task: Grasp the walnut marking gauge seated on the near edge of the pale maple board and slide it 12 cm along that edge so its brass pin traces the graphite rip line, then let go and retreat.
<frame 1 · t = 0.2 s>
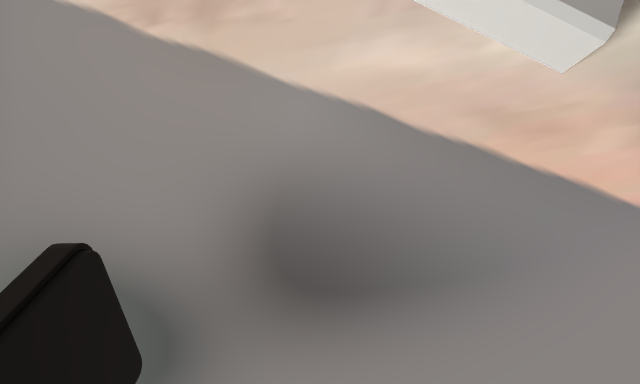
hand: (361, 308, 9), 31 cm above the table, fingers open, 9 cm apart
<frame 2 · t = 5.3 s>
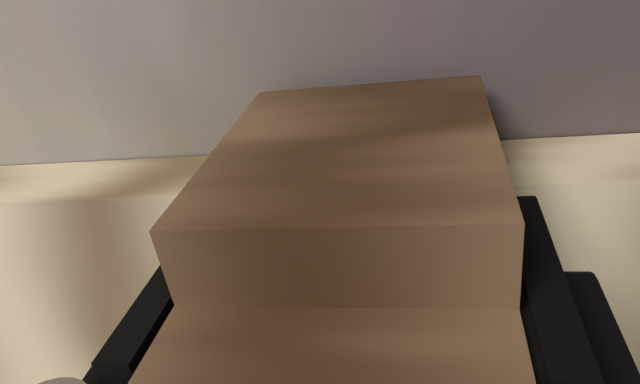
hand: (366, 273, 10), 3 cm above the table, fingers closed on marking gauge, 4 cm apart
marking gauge: (370, 243, 11), point 2 cm above the table, touching gripper, maple board
maple board: (190, 339, 16), on the table
when the fingers open (3 cm above the table, at t = 9.8 s): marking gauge stays where it is, resting on maple board.
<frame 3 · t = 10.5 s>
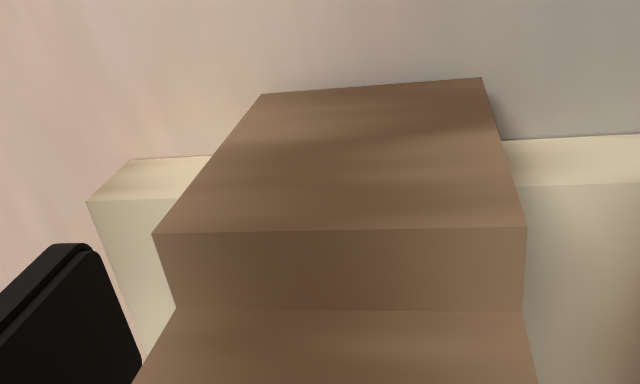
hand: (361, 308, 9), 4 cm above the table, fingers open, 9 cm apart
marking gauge: (372, 245, 11), point 2 cm above the table, touching maple board
maple board: (631, 352, 13), on the table
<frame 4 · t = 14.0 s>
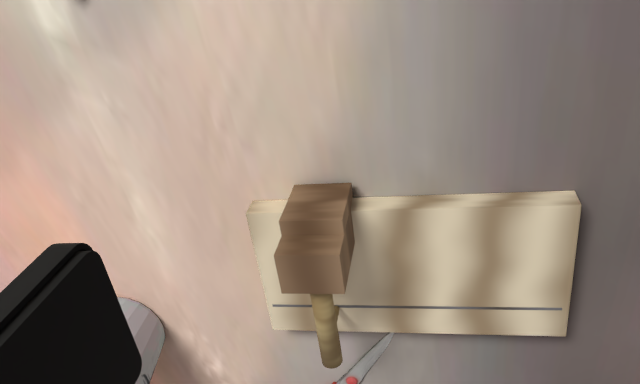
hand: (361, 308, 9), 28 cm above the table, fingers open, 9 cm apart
scissors: (340, 377, 52), on the table
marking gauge: (324, 225, 40), point 2 cm above the table, touching maple board
mug: (113, 309, 52), on the table
maple board: (407, 260, 43), on the table
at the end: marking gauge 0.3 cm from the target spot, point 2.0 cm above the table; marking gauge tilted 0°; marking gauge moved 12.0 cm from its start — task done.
